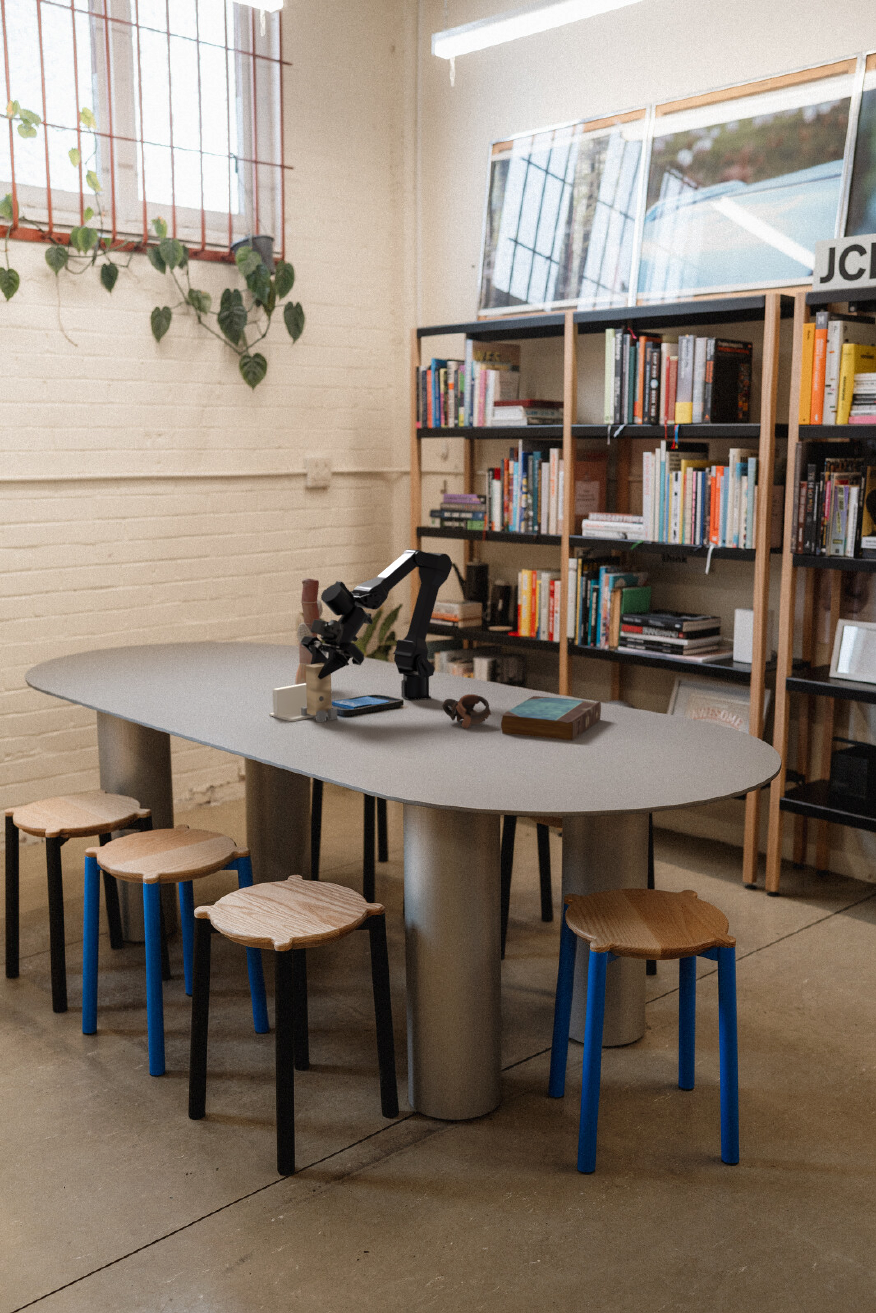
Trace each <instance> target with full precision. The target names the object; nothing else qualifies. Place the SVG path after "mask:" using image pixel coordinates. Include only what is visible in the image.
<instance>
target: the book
mask: <svg viewBox="0 0 876 1313" xmlns="http://www.w3.org/2000/svg"><path fill="white" fill-rule="evenodd" d="M501 716H502V717H501V723H500V728H501V731H502V735H503V734H505V735H516V736H525V737H534V738H535V737H536V738H546V739H556V740H566V741H574V740H575V739H577V738H578V737H579V736H580V735H582V734H583V733H584V732H586V731H587V730H589V729H590V728H591V727H593V726H594V725H595V724H597V722H599V721H600V720H601V716H602V703H601V701H597V702H595V701H590V700H582V699H571V698H564V697H563V698H561V697H550V696H539V695H538V696H536V695H533V696H531V697H529V698H528V699H526V700H524V701H522V702H521V703H519V704H517V705H516V706H514V707H512V708H510V709H509V710H508V711H505V713H502V714H501Z"/></svg>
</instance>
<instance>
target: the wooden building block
mask: <svg viewBox="0 0 876 1313" xmlns="http://www.w3.org/2000/svg"><path fill="white" fill-rule="evenodd" d="M324 664H325V663H317V664H312V665H306V693H307V714H311V715H315V716H316V711H321V710H324V711H326V715H328V714H327V713H328V709H331V708H333V701H332V700H333V698H332V695H333V694H332V673H331V674H330V675H328V676H326V677H325V678H323V679H319V678H318V675H319V673H320V671H321V669H322V667H323V666H324Z"/></svg>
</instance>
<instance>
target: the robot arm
mask: <svg viewBox="0 0 876 1313" xmlns="http://www.w3.org/2000/svg"><path fill="white" fill-rule="evenodd" d="M416 568H418V576H419V577H418V578H419V579H420V586H419V589H418V594H417V597H416V600H415V606H414V609H413V612H412V616H411V617H412V618H411V620H410V623H409V628H408V631H407V634H406V636H405V637H404V638H403V639H397V641H396V644H395V650H394V652H393V655H394V658H393V661H394V663H395V665H396V668H397V671H398V674H400V675H402V677H403V678H402V679H401V681H400V682H401V687H400V688H401V689H400V692H401V695H400V696H401V697H402V698H404V699H406V700H408V701H416V700H418V701H419V700H431V699H432V696H431V695H430V678H431V677H433V676H434V672H435V670H436V668H435V666H434V665H433V664H432V663H431V662H430V660H429V659H428V654H429V649H428V646H427V645H428V644H427V641H426V639H427V635H428V632H429V627H430V623H431V619H432V616H433V613H434V608H435V605H436V601H437V597H438V594H439V590H440V588H441V587H442V585H443V584H444V583H446V581H447V580H448V578H449V576H450V573H451V572H452V568H453V561H452V559H451V557H450V556H449V554H447V553H441V552H430V551H429V552H427V551H423V550H420V549H415V548H413V549H411V548H408V549H406V550H404V551H403V553H402V555H400V556H399V557H398V558H397V559H396V560H394V561H393V562H392V563H391V564H390V565H389V566H387V567H386V568H385V569H384V570H383V571H382V572H380V574H378V575H377V576H376V577H374V578H372V579H368V580H365V581H364V582H362V583H360V584H358V585H357V586H355V588H353V590H349V588H347V586H346V584H345V583H344V582H343V581H339V580H337V581H336V582H335V583H334V584H331V585H330V586H328V587H327V588H326V589H323V591H322V593H321V595H320V599H321V600H320V601H321V602H323V604H325V605H326V607H327V608H329V610H330V611H331V612H332V613H333V614H334V615H335V616H340V617H339V619H338V620H336V619H330V620H329V621H325V620H321V619H319V620H315V619H314V621H313V624H312V627H311V630H310V632H312V633H316V634H318V635H319V636H320V637H319V638H320V639H319V638H318V636H317V637H314V636H304V638H303V639H302V641H301V644H302V645H303V646H304V647H305V648H306V649H307V650H308V651H309V652H310V653H311V654H312V660H311V664H310V665H312V664H317V663H325V664H324V666H323V667H322V669H321V671H320V673H319V675H318V678H319V679H323V678H325V677H326V676H328V675H330V674H331V675H332V674H333V673H335V672H336V671H338V670H341V669H342V668H344V667H349V665H350V663H349V660H351V662H352V665H356V666H361V665H362V664H363V662H364V661H365V654H364V653H363V652H362V650H361V649H360V648H359V647H358V646H357V645H356V644H355V643H353V642H357V641H358V640H359V638H358V637H357V635H358V633H359V632H360V630H361V628H362V627H363V626H364V624H367V625H373V624H374V622H373V618H372V613H370V612H366V610H365V609H367V610H378V609H380V608H381V606H382V605H383V604H384V603H385V602H386V600H387V599H388V598H389V593H390V591H391V590H392V589H394V587H395V586H397V585H398V584H399V583H400V582H401V581H402V580H403V579H404V578H405V577H407V576H408V575H409V574H410V573H411V572H412V571H414V570H415V569H416ZM321 640H322V641H321ZM323 642H324V643H323ZM327 654H328V656H327Z"/></svg>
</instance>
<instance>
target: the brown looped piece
mask: <svg viewBox="0 0 876 1313" xmlns="http://www.w3.org/2000/svg"><path fill="white" fill-rule="evenodd" d="M479 703H481V704H483V706H484V709H483V710H480V711H476V710H475V709H474V708H475V706H476V705H478V704H479ZM441 707H442V710H443V711H444V713H445V714H446V715H447V716H448V717H450V719H451V721H455V719H456V722H460V721H462V722H461V727H462V728H464V729H466V730H468V728H469V727H470V726H474V725H477V724H481V723H482V722H485V721H486V720H488V718H489V716H491V715H492V713H491V710H490V704H489V702H488V700H487V699H486V698H485V697H483V696H481V695H478V694H473V693H471V694H469V693H468V694H465V695H463V696H461V697H460V698H459V700H455V699H453V698H446V699H444V700H443V703H442V704H441Z"/></svg>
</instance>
